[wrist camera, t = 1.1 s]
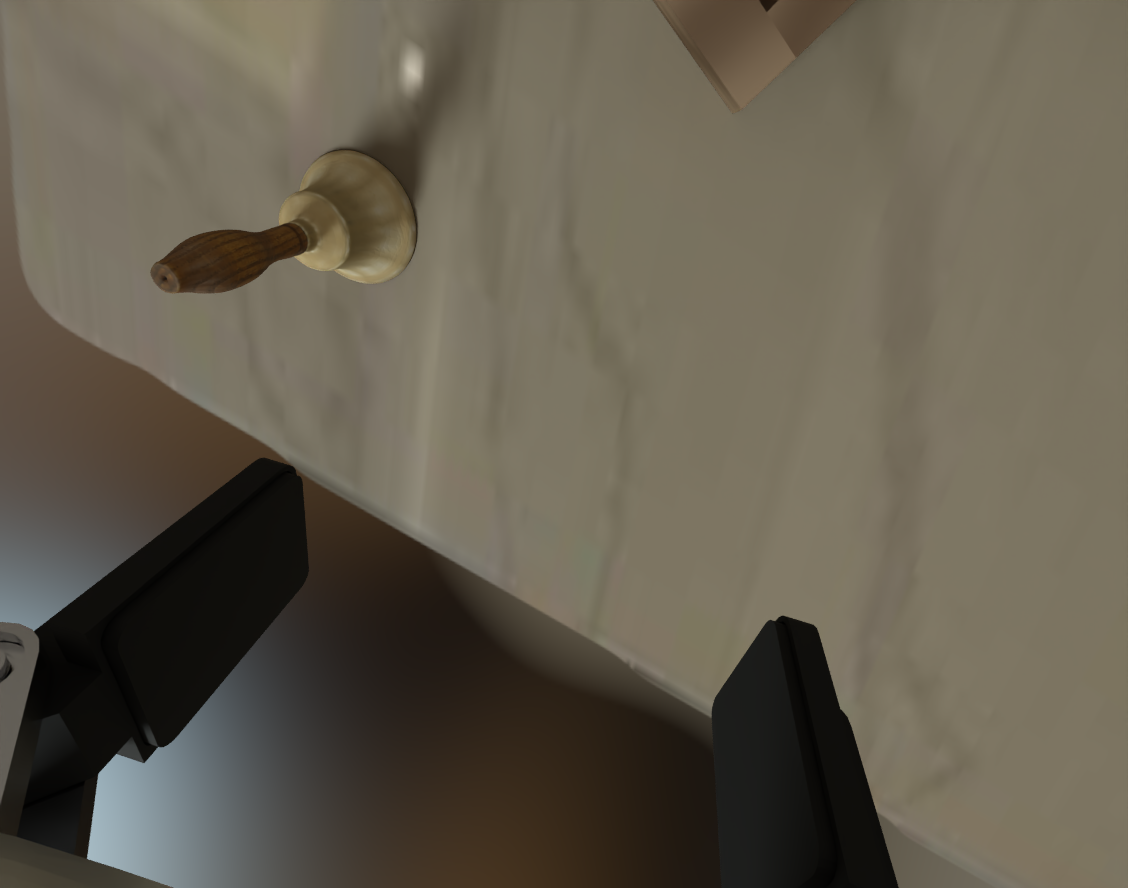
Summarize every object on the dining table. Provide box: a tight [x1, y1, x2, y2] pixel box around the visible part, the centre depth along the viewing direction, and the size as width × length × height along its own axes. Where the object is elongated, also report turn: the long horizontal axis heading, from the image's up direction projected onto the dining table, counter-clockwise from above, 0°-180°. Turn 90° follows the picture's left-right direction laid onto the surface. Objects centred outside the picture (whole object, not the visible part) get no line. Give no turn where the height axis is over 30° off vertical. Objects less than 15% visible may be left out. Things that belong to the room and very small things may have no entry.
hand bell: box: [150, 150, 416, 294], centre depth 28 cm, size 8×8×16 cm
